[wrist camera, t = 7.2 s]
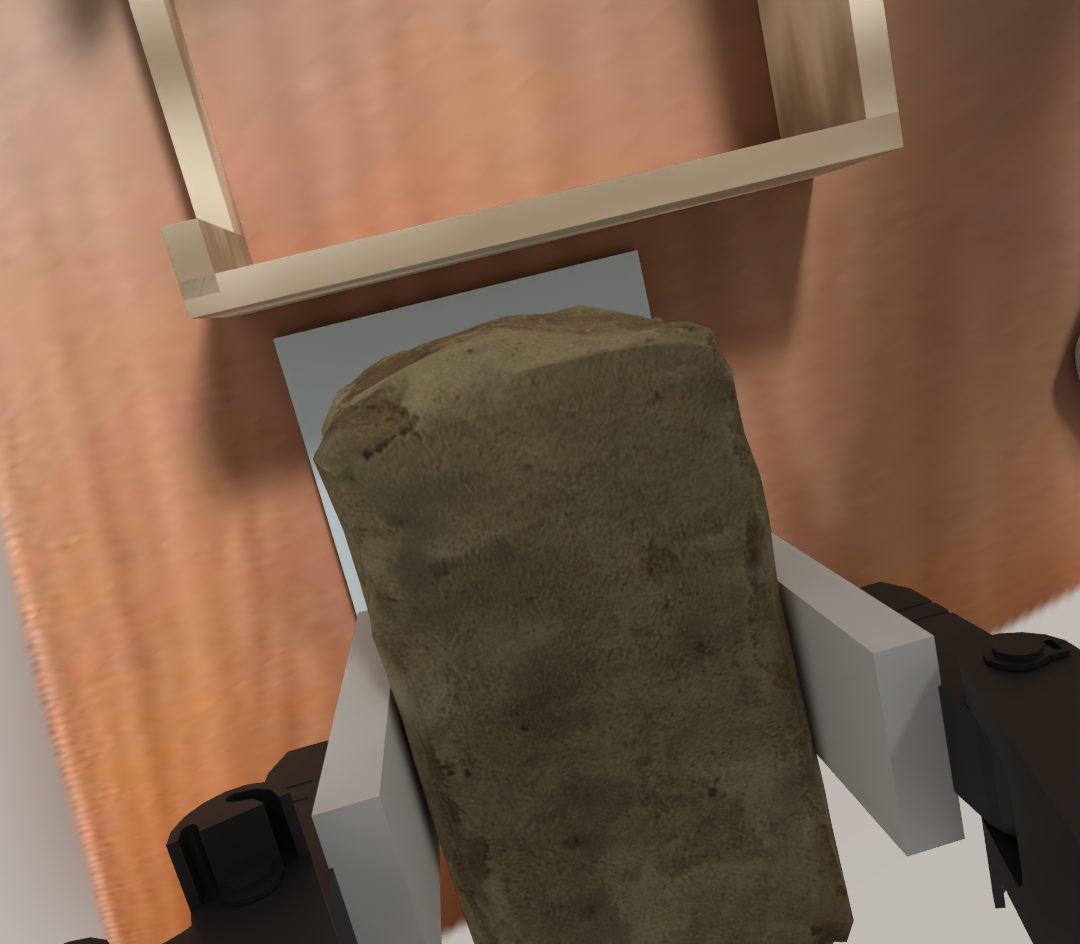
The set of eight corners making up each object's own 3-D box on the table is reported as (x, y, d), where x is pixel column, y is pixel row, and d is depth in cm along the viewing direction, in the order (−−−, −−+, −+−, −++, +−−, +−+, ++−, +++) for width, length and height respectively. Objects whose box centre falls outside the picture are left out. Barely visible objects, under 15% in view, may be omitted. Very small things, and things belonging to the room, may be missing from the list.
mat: (274, 338, 30) (272, 338, 29) (634, 250, 31) (637, 249, 30) (377, 676, 32) (376, 681, 32) (704, 586, 33) (708, 589, 33)
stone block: (509, 915, 17) (534, 1147, 13) (320, 370, 15) (261, 393, 10) (777, 823, 18) (904, 1014, 13) (630, 276, 16) (717, 255, 11)
